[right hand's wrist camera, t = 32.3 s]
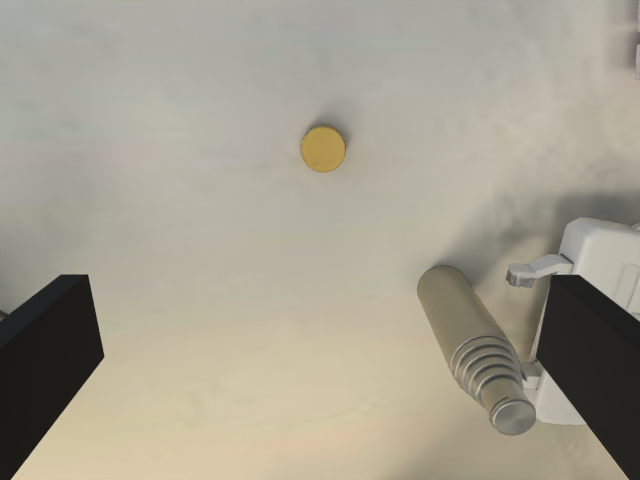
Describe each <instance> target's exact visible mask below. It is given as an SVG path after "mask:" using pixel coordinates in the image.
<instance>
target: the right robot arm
mask: <svg viewBox="0 0 640 480" xmlns="http://www.w3.org/2000/svg"><path fill="white" fill-rule="evenodd" d="M103 358H104V352H103V347H102V342H101V337H100V332H99V327H98V322H97V317H96V312H95V307H94V302H93V297H92V292H91V287H90V282H89V277H88V275H60V276H58V277H57V278H56V279H55V280H53V281H52V282H51V283H49V284H48V285H47V286H45V287H44V288H43V289H42V290H40V291H39V292H38V293H36V294H35V295H34V296H32V297H31V298H30V299H29V300H27V301H26V302H25V303H23V304H22V305H21V306H19V307H18V308H17V309H16V310H14V311H13V312H12V313H10V314H9V315H8V316H6V315H4V314H2V313H0V480H11V479H12V477H13V476H14V475H15V473H16V472H17V471H18V469H19V468H20V467H21V466H22V464H23V463H24V462H25V460H26V459H27V458H28V456H29V455H30V454H31V452H32V451H33V450H34V449H35V447H36V446H37V445H38V443H39V442H40V441H41V439H42V438H43V437H44V435H45V434H46V433H47V432H48V430H49V429H50V428H51V426H52V425H53V424H54V422H55V421H56V420H57V418H58V417H59V416H60V415H61V413H62V412H63V411H64V409H65V408H66V407H67V405H68V404H69V403H70V401H71V400H72V399H73V398H74V396H75V395H76V394H77V392H78V391H79V390H80V388H81V387H82V386H83V384H84V383H85V382H86V381H87V379H88V378H89V377H90V375H91V374H92V373H93V371H94V370H95V369H96V367H97V366H98V365H99V364H100V362H101V361H102V360H103ZM536 358H537V360H538V361H539V362H540V364H541V365H542V366H543V367H544V369H545V370H546V371H547V373H548V374H549V375H550V377H551V378H552V379H553V381H554V382H555V383H556V384H557V386H558V387H559V388H560V390H561V391H562V392H563V394H564V395H565V396H566V398H567V399H568V400H569V401H570V403H571V404H572V405H573V407H574V408H575V409H576V411H577V412H578V413H579V415H580V416H581V417H582V418H583V420H584V421H585V422H586V424H587V425H588V426H589V428H590V429H591V430H592V432H593V433H594V434H595V435H596V437H597V438H598V439H599V441H600V442H601V443H602V445H603V446H604V447H605V449H606V450H607V451H608V452H609V454H610V455H611V456H612V458H613V459H614V460H615V462H616V463H617V464H618V466H619V467H620V468H621V469H622V471H623V472H624V473H625V475H626V476H627V477H628V479H629V480H640V321H639V320H637V319H636V318H635V317H634V316H632V315H631V314H630V313H628V312H627V311H626V310H624V309H623V308H622V307H621V306H619V305H618V304H617V303H615V302H614V301H613V300H611V299H610V298H609V297H608V296H606V295H605V294H604V293H602V292H601V291H600V290H598V289H597V288H596V287H595V286H593V285H592V284H591V283H589V282H588V281H587V280H585V279H584V278H583V277H582V276H580V275H552V277H551V282H550V287H549V292H548V297H547V302H546V307H545V312H544V317H543V322H542V327H541V332H540V337H539V342H538V347H537V352H536Z"/></svg>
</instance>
